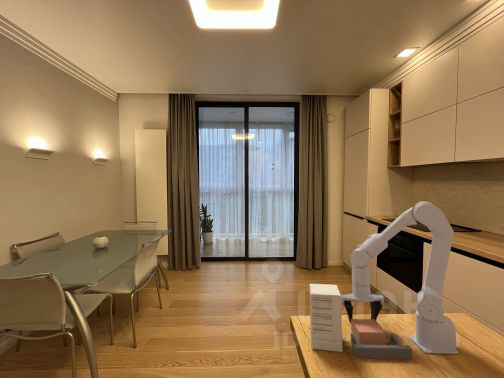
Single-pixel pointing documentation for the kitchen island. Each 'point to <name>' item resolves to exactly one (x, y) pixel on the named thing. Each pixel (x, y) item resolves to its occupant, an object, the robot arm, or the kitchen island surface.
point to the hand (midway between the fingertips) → (362, 322)
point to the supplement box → (325, 317)
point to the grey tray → (381, 349)
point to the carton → (368, 331)
